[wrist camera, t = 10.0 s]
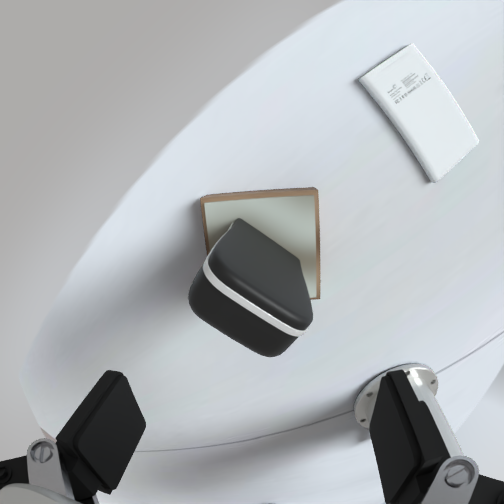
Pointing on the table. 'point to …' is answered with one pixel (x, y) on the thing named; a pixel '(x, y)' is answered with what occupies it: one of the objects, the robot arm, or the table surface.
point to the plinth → (272, 223)
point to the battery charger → (252, 291)
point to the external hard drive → (421, 111)
